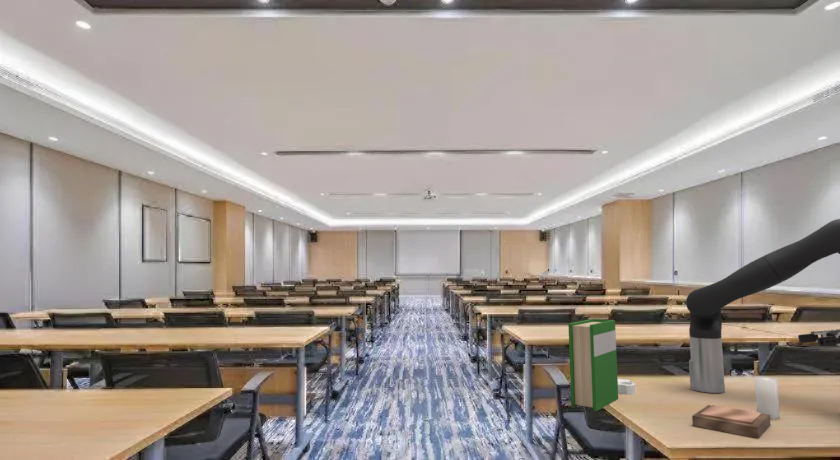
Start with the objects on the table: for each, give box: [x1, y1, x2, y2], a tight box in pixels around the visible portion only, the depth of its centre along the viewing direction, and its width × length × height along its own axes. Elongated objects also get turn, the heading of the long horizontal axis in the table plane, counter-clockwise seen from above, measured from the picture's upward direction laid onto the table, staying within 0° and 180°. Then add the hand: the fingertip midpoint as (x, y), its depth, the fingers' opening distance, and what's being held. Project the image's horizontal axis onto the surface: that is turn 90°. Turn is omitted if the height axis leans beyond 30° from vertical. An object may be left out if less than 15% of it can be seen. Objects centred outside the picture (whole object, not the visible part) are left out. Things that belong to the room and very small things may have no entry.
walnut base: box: [691, 404, 772, 439], centre depth 125 cm, size 14×14×3 cm
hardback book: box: [568, 318, 619, 412], centre depth 149 cm, size 18×7×24 cm, turn 139°
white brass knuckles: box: [617, 378, 636, 395], centre depth 166 cm, size 3×18×15 cm
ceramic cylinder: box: [754, 375, 781, 420], centre depth 133 cm, size 5×5×10 cm
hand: (808, 340), depth 133 cm, fingers open, 8 cm apart
